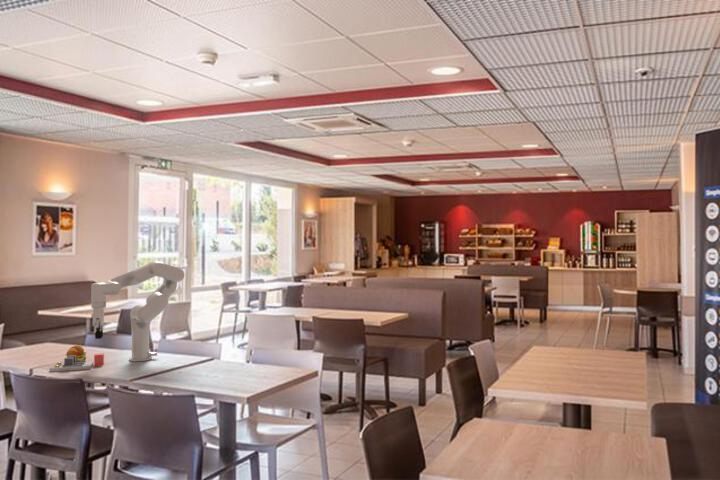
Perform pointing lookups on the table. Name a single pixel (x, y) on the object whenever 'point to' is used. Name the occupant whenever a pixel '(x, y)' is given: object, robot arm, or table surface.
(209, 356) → the table surface
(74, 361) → the breaker
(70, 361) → the breaker
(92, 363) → the panel
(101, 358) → the red rectangular block
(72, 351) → the cheeseburger
